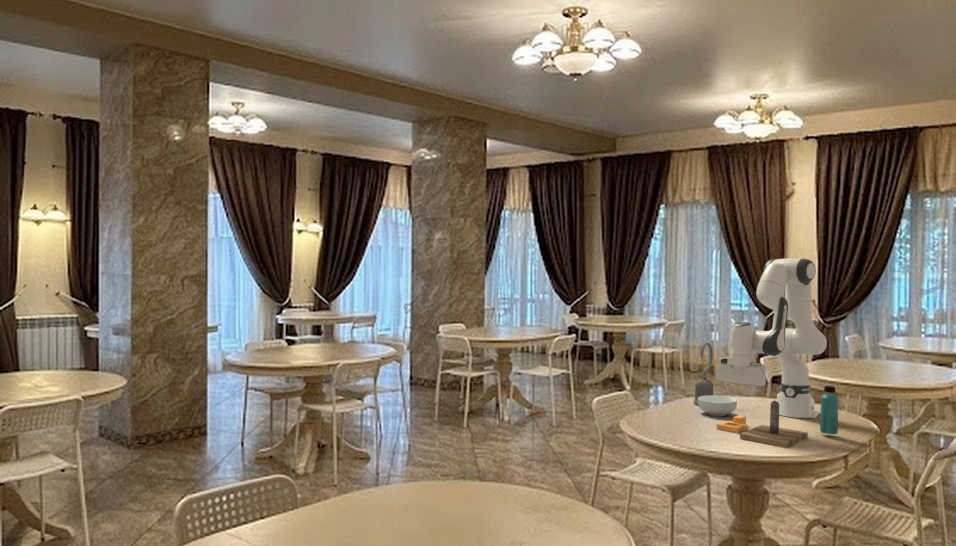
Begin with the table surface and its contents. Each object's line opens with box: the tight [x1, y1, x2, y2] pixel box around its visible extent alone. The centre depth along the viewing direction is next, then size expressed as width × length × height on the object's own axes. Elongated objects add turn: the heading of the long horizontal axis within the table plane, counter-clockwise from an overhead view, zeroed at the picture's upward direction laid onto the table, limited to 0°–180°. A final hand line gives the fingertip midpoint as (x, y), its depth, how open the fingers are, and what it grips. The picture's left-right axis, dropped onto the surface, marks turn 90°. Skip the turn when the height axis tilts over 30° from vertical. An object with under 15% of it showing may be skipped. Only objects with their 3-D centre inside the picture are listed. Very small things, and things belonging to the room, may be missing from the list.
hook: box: [693, 341, 714, 406], centre depth 346 cm, size 10×12×30 cm
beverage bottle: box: [819, 385, 839, 435], centre depth 287 cm, size 6×7×20 cm
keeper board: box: [739, 400, 809, 448], centre depth 282 cm, size 22×18×15 cm
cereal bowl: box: [697, 395, 738, 417], centre depth 324 cm, size 17×17×7 cm
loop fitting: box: [716, 414, 748, 434], centre depth 298 cm, size 15×9×4 cm, turn 137°
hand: (739, 393), depth 301 cm, fingers open, 8 cm apart
